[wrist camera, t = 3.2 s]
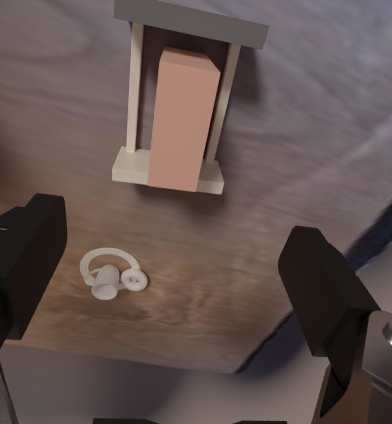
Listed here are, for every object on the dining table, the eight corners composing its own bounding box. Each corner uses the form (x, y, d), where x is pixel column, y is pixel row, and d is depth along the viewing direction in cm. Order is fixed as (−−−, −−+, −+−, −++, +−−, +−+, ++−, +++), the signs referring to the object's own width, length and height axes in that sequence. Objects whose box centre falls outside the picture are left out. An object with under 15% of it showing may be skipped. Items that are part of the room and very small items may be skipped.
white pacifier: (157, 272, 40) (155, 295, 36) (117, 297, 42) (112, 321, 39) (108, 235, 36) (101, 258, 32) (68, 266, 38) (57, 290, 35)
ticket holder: (127, -4, 22) (114, -10, 17) (250, 24, 24) (269, 25, 19) (121, 159, 30) (110, 185, 25) (214, 172, 31) (221, 199, 26)
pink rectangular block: (165, 46, 24) (159, 60, 16) (205, 54, 25) (220, 72, 16) (155, 137, 28) (147, 185, 20) (189, 142, 29) (195, 192, 21)
